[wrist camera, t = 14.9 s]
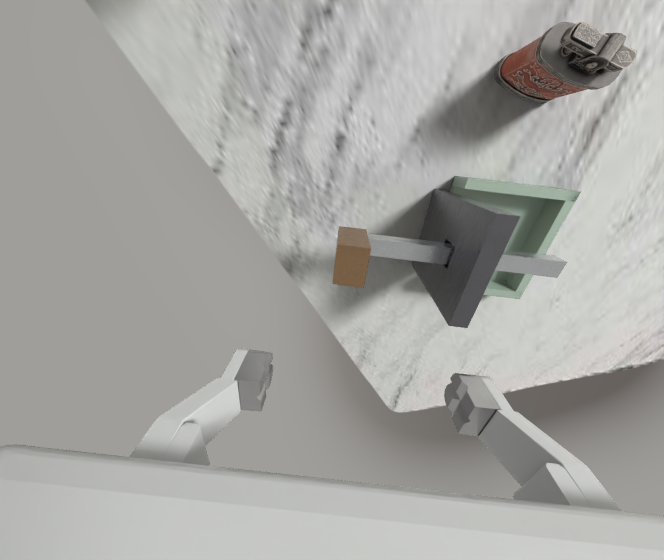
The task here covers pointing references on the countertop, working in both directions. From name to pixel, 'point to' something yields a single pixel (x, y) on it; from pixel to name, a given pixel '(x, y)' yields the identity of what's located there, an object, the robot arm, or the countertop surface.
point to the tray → (520, 221)
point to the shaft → (421, 256)
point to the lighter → (564, 63)
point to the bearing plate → (463, 252)
